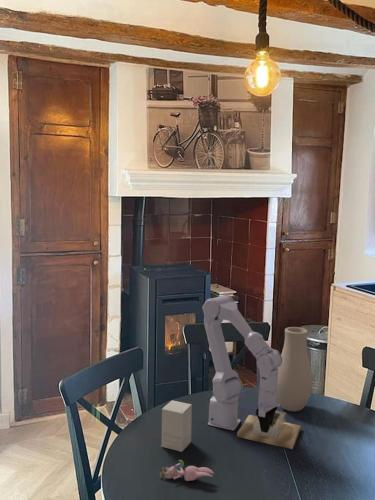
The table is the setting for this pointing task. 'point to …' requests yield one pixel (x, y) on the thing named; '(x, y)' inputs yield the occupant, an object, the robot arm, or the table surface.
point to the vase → (294, 371)
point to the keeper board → (284, 440)
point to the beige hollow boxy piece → (271, 426)
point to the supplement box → (176, 425)
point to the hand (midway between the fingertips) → (266, 428)
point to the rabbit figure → (186, 472)
